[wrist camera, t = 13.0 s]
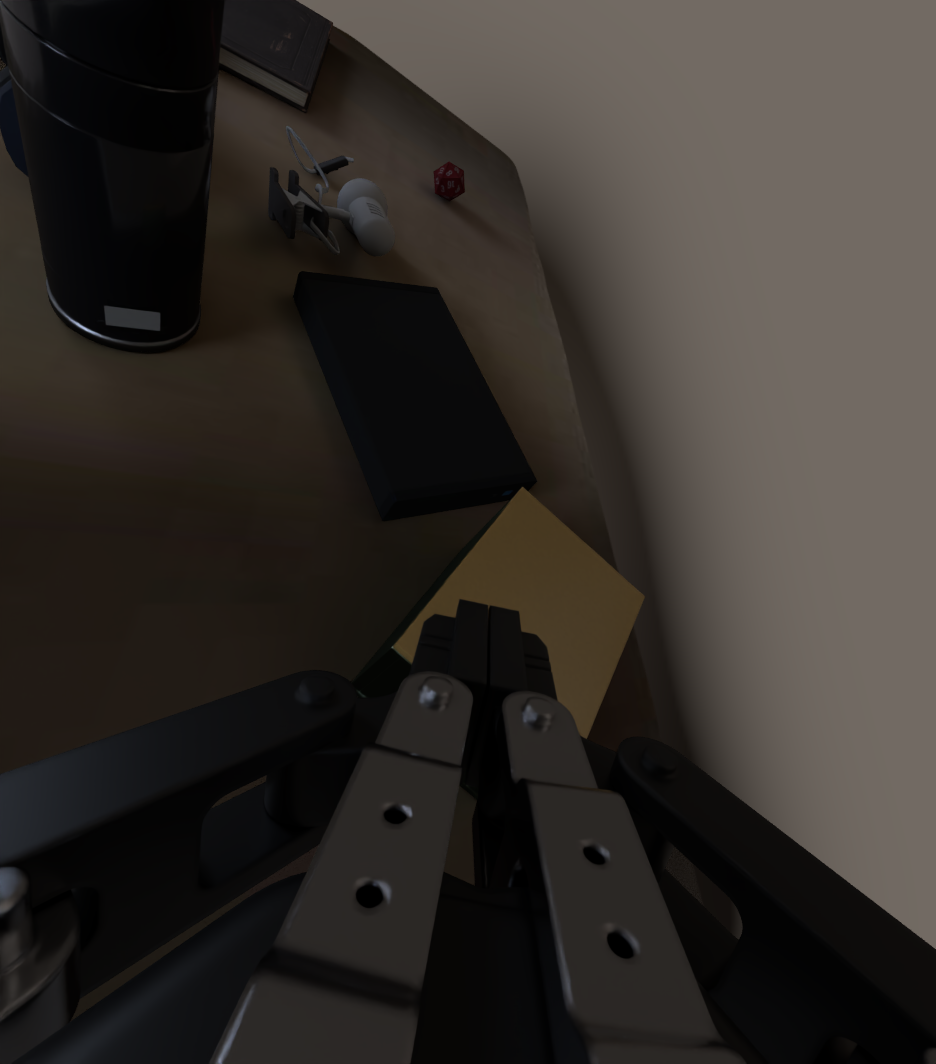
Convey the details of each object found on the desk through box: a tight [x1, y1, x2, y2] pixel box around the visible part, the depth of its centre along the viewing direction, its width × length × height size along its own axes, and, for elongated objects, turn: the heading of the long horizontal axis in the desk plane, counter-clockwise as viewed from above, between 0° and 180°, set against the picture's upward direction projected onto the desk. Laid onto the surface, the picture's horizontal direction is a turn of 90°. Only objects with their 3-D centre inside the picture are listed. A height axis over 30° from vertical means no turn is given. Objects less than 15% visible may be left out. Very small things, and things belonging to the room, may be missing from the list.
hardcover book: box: [219, 0, 333, 113], centre depth 65 cm, size 16×23×2 cm
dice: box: [434, 162, 465, 201], centre depth 67 cm, size 4×4×4 cm
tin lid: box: [393, 487, 645, 739], centre depth 32 cm, size 15×11×1 cm
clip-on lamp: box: [268, 126, 395, 256], centre depth 53 cm, size 12×6×18 cm
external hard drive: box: [293, 271, 537, 521], centre depth 47 cm, size 14×23×3 cm, turn 26°
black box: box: [351, 500, 511, 800], centre depth 35 cm, size 14×11×8 cm
